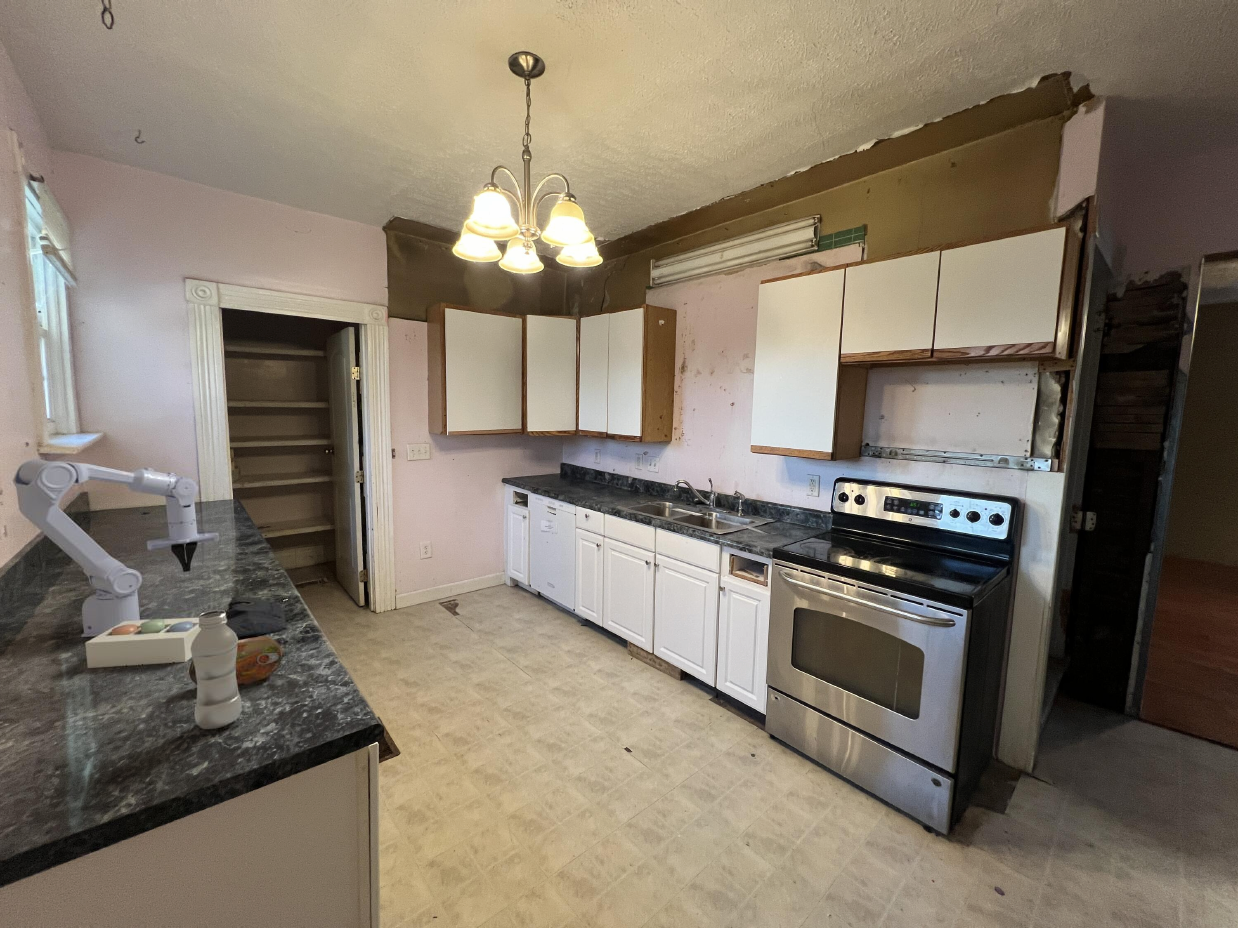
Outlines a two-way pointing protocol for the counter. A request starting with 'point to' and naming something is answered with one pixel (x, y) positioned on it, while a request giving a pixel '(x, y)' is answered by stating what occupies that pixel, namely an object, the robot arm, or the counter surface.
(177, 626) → the slate blue button
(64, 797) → the counter surface
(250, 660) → the tin
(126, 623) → the button console
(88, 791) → the counter surface
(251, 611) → the black fabric pouch
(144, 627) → the sage green button
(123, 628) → the terracotta button
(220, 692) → the plastic bottle
